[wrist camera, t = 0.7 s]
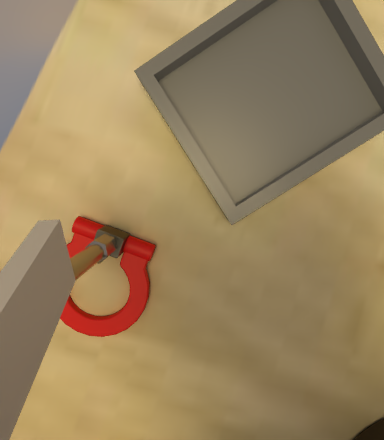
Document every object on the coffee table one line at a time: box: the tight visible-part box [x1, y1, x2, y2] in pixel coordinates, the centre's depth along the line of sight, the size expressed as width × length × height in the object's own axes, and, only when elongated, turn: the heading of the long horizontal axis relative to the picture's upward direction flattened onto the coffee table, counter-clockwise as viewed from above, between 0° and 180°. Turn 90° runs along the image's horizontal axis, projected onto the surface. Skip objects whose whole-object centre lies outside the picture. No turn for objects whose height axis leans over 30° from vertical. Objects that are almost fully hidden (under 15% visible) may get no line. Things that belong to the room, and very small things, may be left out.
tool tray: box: [134, 0, 384, 225], centre depth 25 cm, size 13×15×2 cm
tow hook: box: [60, 216, 156, 337], centre depth 23 cm, size 8×13×9 cm
